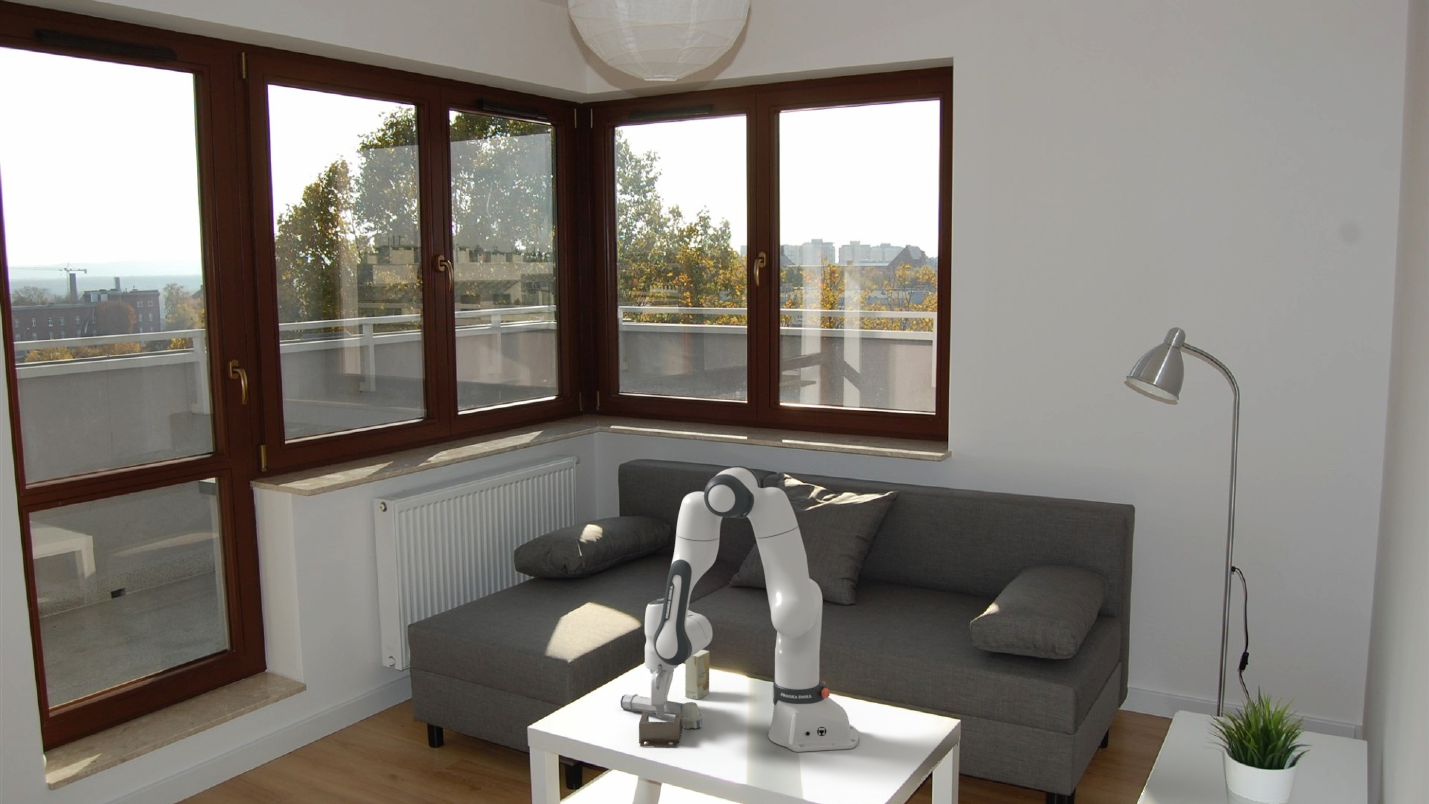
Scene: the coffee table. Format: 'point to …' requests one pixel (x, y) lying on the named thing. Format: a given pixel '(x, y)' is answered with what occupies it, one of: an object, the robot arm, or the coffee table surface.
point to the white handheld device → (665, 709)
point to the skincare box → (697, 675)
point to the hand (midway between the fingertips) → (662, 710)
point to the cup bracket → (660, 732)
